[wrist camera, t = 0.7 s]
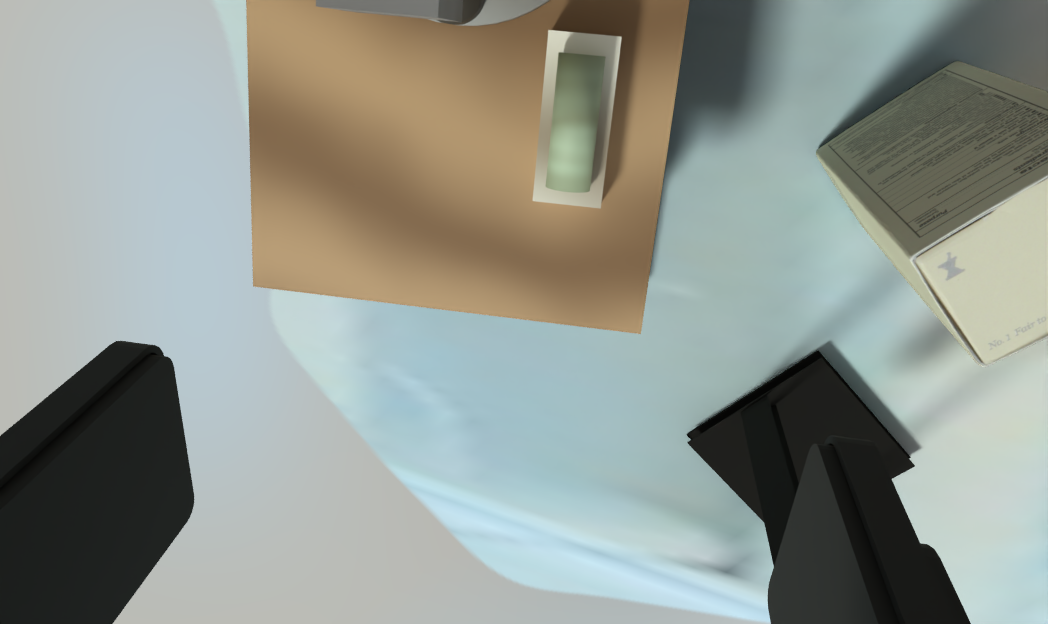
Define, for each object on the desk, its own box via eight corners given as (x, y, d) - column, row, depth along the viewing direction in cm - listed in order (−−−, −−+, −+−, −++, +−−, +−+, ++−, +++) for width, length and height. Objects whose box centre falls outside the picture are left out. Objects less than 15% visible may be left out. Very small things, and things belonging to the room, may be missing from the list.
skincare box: (863, 230, 33) (974, 379, 22) (809, 146, 32) (899, 261, 21) (1013, 142, 31) (1219, 261, 20) (961, 48, 30) (1150, 120, 19)
